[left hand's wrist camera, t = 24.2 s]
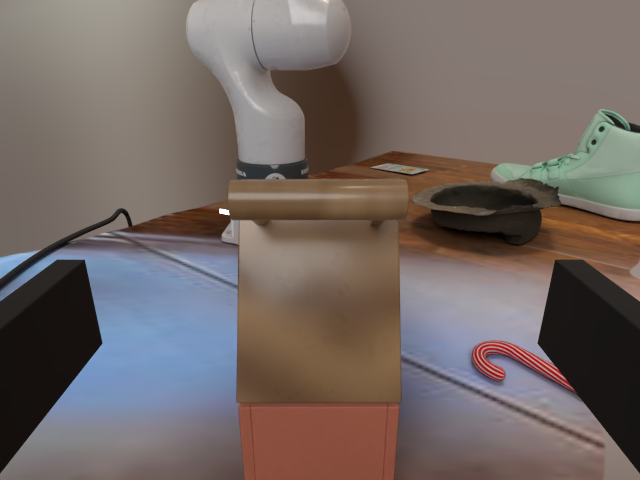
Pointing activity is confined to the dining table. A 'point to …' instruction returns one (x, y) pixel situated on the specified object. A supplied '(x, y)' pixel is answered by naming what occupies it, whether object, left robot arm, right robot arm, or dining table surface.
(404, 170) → the baking ingredient package
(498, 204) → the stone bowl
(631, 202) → the sneaker
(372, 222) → the lid
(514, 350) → the candy cane
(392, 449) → the chest
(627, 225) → the dining table surface
